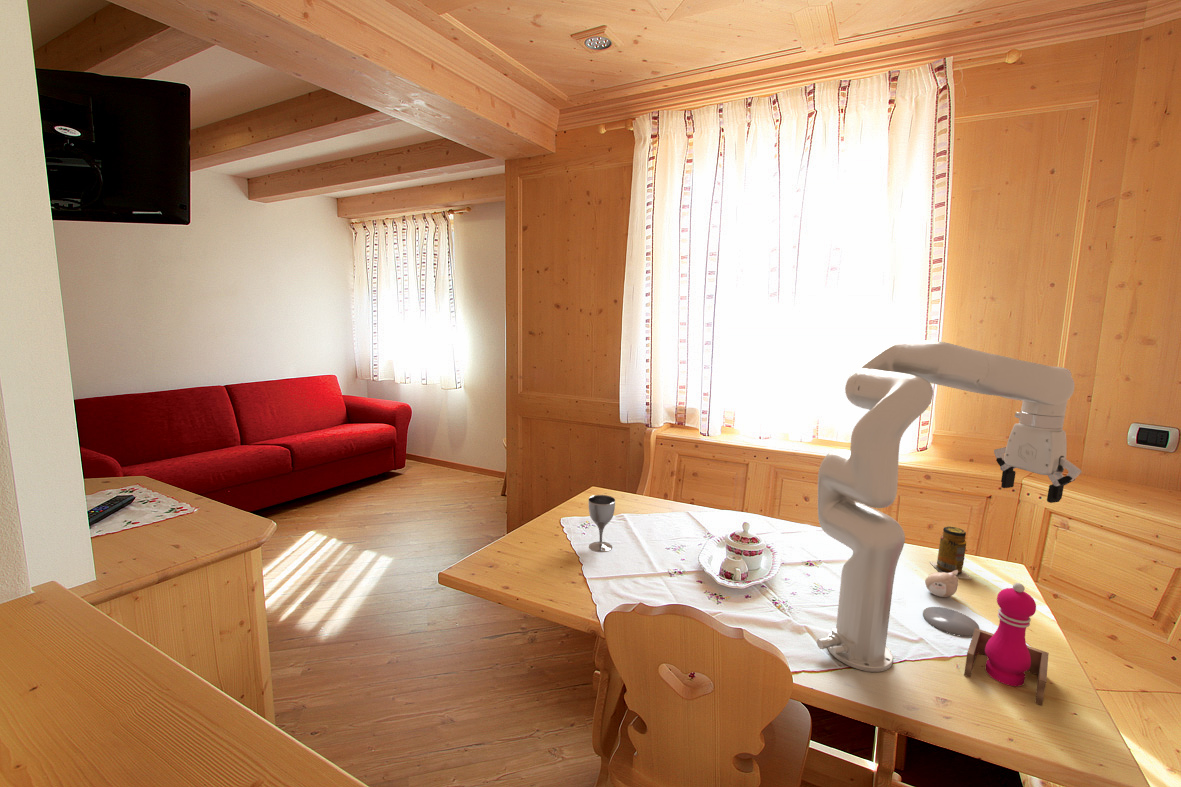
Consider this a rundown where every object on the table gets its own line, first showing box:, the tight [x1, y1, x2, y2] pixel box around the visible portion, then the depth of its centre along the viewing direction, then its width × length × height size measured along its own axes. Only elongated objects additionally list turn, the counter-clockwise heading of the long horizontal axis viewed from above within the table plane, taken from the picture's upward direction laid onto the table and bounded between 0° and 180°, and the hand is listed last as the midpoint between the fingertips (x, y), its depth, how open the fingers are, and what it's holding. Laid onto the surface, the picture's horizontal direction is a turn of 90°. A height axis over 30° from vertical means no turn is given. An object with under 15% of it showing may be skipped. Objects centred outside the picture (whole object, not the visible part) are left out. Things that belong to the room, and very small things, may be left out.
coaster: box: [922, 606, 980, 637], centre depth 124 cm, size 11×11×1 cm
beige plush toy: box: [924, 570, 959, 598], centre depth 135 cm, size 7×6×8 cm
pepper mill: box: [984, 582, 1037, 687], centre depth 104 cm, size 7×7×20 cm
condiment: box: [929, 525, 972, 580], centre depth 148 cm, size 7×8×12 cm
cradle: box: [963, 628, 1050, 707], centre depth 105 cm, size 12×12×5 cm
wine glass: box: [588, 494, 616, 553], centre depth 158 cm, size 8×8×15 cm
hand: (1029, 494), depth 120 cm, fingers open, 9 cm apart
